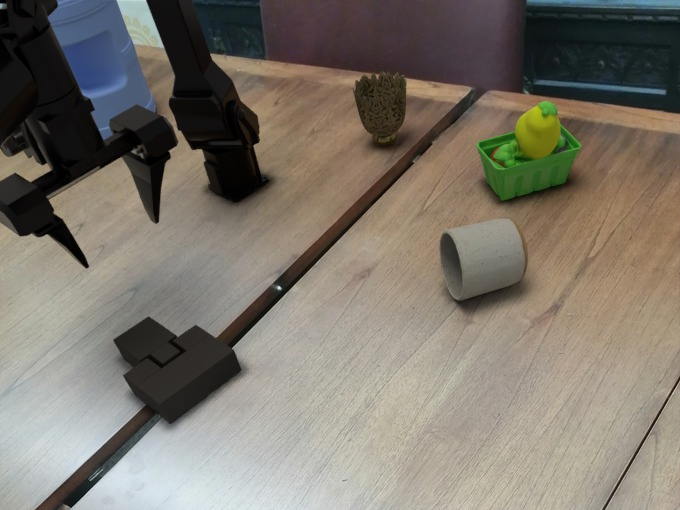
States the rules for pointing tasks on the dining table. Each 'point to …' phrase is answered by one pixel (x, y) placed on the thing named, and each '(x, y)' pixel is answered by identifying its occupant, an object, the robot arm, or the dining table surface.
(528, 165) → the fruit basket
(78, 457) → the dining table surface
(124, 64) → the water jug
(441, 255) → the ceramic mug
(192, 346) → the base pad
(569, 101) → the dining table surface
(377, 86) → the cup
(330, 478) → the dining table surface
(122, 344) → the black pad
